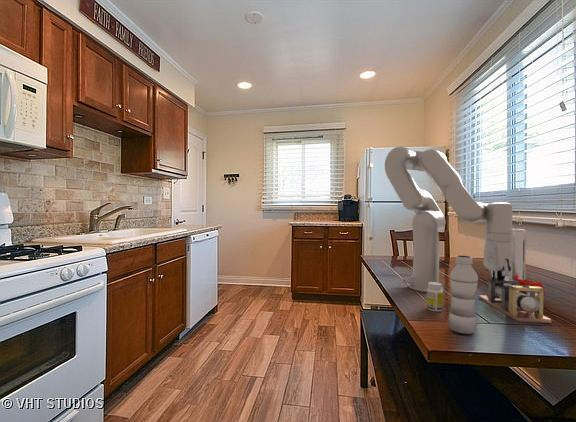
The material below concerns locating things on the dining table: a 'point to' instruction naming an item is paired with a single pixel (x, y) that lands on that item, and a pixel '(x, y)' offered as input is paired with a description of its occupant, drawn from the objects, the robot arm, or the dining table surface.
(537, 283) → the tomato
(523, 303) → the air tube
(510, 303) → the collar rail
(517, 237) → the air filter
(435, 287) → the supplement bottle
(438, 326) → the dining table surface
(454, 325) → the plastic bottle
